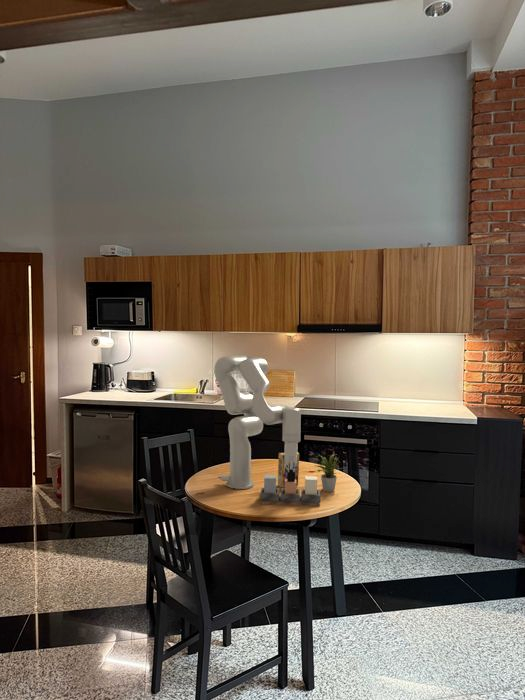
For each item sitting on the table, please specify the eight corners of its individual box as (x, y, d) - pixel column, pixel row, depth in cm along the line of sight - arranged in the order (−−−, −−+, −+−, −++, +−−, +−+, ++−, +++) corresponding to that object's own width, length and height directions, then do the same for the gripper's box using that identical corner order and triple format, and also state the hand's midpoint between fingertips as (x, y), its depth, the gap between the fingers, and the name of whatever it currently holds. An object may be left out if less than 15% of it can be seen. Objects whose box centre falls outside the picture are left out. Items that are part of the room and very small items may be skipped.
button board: (260, 504, 205) (260, 494, 205) (261, 496, 215) (261, 486, 215) (320, 506, 204) (320, 496, 204) (319, 498, 214) (319, 488, 214)
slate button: (264, 494, 208) (264, 478, 207) (264, 491, 212) (264, 474, 212) (275, 495, 207) (275, 478, 207) (275, 491, 212) (276, 475, 212)
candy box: (281, 488, 227) (282, 454, 226) (277, 485, 231) (277, 452, 230) (298, 485, 230) (299, 453, 230) (294, 483, 234) (294, 450, 234)
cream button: (305, 496, 207) (305, 479, 206) (304, 492, 211) (305, 476, 211) (316, 496, 206) (317, 479, 206) (316, 492, 211) (316, 476, 211)
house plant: (316, 482, 235) (316, 448, 235) (345, 486, 231) (346, 450, 231) (309, 491, 222) (310, 455, 221) (340, 495, 218) (341, 458, 217)
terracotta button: (284, 499, 207) (284, 482, 207) (284, 495, 212) (284, 479, 212) (296, 499, 207) (296, 482, 207) (295, 495, 212) (296, 479, 211)
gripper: (282, 433, 216) (282, 475, 217) (282, 440, 201) (281, 486, 202) (300, 434, 216) (299, 476, 216) (300, 441, 201) (300, 486, 201)
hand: (291, 481), depth 209 cm, fingers closed
